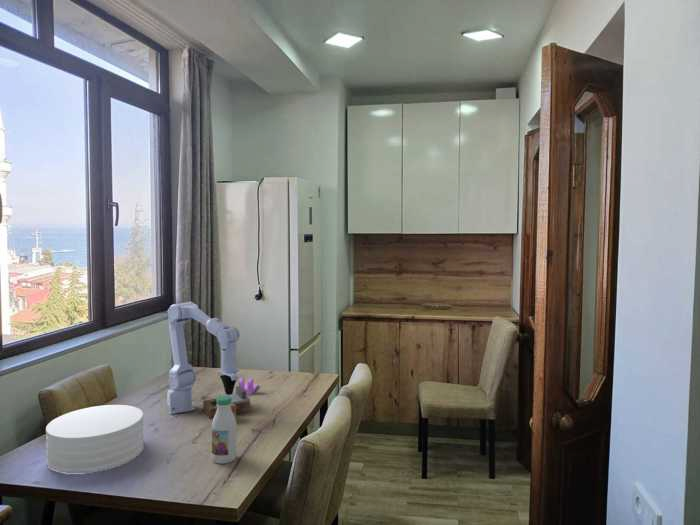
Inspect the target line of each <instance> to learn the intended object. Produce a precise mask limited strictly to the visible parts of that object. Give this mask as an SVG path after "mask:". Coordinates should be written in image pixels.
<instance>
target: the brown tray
mask: <svg viewBox="0 0 700 525" xmlns="http://www.w3.org/2000/svg"><path fill="white" fill-rule="evenodd" d="M217 398H218V397H216V398H212V399H206V400H205V399H204V400H203V403H202V406H203V407H202V408H203V409H202V410H203V412H204V413H205V414H206V415H207V417H208V418H209V419H210V420H213V418H214V416H215V414H216V411H217ZM235 405H236V415H239V414H245V413H249V412H250V413H251V401H250V402H245V403H239V404H235Z"/></svg>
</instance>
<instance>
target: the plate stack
mask: <svg viewBox="0 0 700 525" xmlns="http://www.w3.org/2000/svg"><path fill="white" fill-rule="evenodd" d="M45 434H46V436H45V439H46V440H45V441H46V443H45V444H46V465H47V464H48V466H49V467H50V468H52V469H54V470H57V471H60V472H66V473H90V472H96V471H101V472H103V471H102V470H105V471H108V470H111V468H112V469H114V467H115V468H117V466H118V467H119V466H123V465H124V464H127V463H129V462H131V461H133V460H134V459H136V458H137V457H138V456H139V455H141V453H142V452H143V450H144V413H143V411H142V409H140V408H138V407H136V406H132V405H127V404H105V405H97V406H96V405H95V406H89V407H85V408H81V409H76V410H73V411H70V412H67V413H64V414H62V415H60V416H57V417H56V418H54V419H52V420H51V421H50V422H49V423H48V424H47V425H46V427H45ZM136 456H137V457H136ZM130 460H131V461H130ZM122 464H123V465H122ZM107 469H108V470H107ZM96 473H97V472H96ZM90 474H91V473H90Z"/></svg>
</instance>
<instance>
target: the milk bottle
mask: <svg viewBox="0 0 700 525" xmlns="http://www.w3.org/2000/svg"><path fill="white" fill-rule="evenodd" d="M216 398H217V411H216V414H215V416H214V418H213V419H212V424H211V459H212V462H214V463H215V464H221V465H222V464H230V463H231V462H234V461H235V460H236V459H237V455H238V453H237V452H238V451H237V449H238V446H237V443H238V442H237V441H238V440H237V438H238V437H237V418H236V419H235V416H234V414H233V412H232V410H231V397H229V396H221V397H220V396H219V397H216Z"/></svg>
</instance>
